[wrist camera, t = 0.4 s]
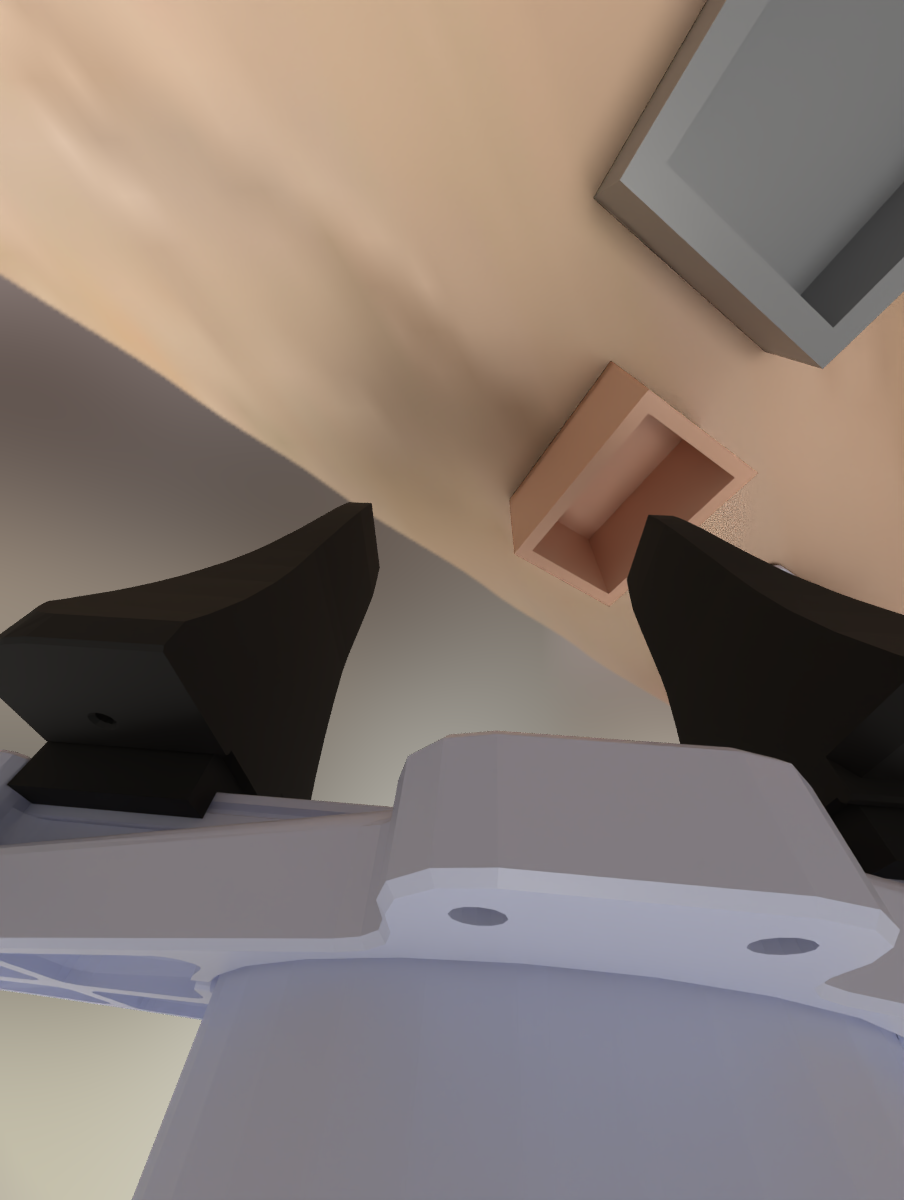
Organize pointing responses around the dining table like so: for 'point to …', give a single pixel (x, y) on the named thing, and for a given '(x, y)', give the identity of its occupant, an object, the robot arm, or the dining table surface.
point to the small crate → (617, 484)
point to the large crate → (777, 168)
